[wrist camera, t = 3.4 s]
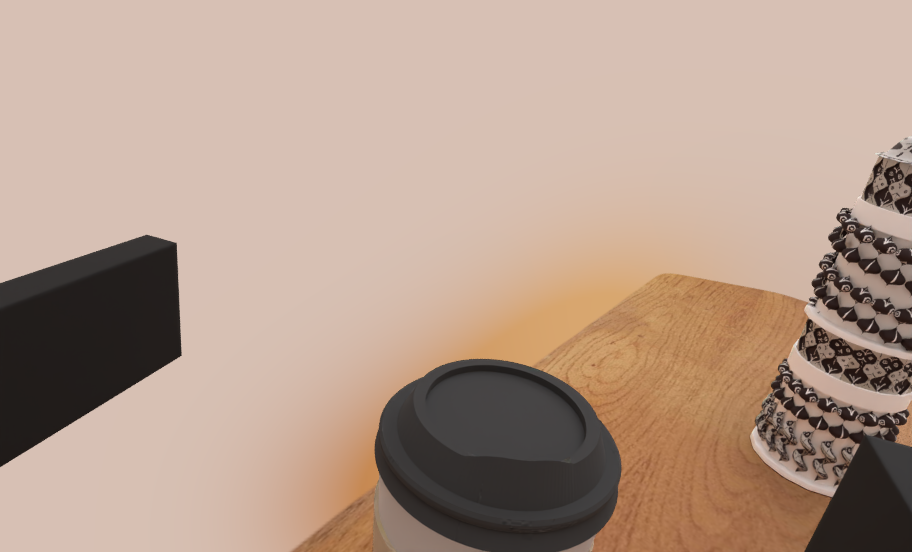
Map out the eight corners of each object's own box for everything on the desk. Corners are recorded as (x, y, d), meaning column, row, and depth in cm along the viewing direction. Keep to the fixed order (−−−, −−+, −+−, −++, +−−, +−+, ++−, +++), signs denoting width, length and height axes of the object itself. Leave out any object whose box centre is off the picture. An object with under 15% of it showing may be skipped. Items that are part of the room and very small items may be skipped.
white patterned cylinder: (747, 408, 51) (866, 124, 41) (867, 453, 47) (1028, 153, 38) (739, 463, 43) (882, 132, 34) (881, 523, 40) (1087, 168, 30)
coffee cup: (357, 577, 30) (386, 325, 24) (526, 584, 31) (593, 344, 25) (337, 789, 21) (373, 481, 16) (568, 788, 23) (682, 501, 17)
